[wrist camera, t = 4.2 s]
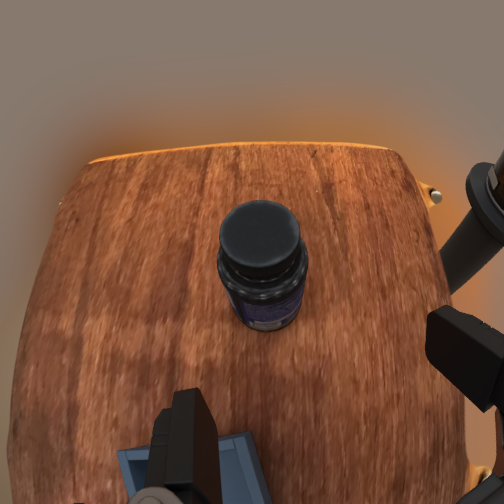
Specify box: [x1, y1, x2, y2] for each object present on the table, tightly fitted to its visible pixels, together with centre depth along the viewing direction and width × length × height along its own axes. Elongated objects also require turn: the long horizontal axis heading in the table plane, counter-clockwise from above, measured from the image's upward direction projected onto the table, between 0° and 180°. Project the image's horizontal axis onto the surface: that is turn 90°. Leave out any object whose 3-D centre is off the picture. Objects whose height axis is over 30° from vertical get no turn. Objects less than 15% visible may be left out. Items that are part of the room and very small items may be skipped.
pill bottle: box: [217, 200, 308, 332], centre depth 22 cm, size 6×6×11 cm
